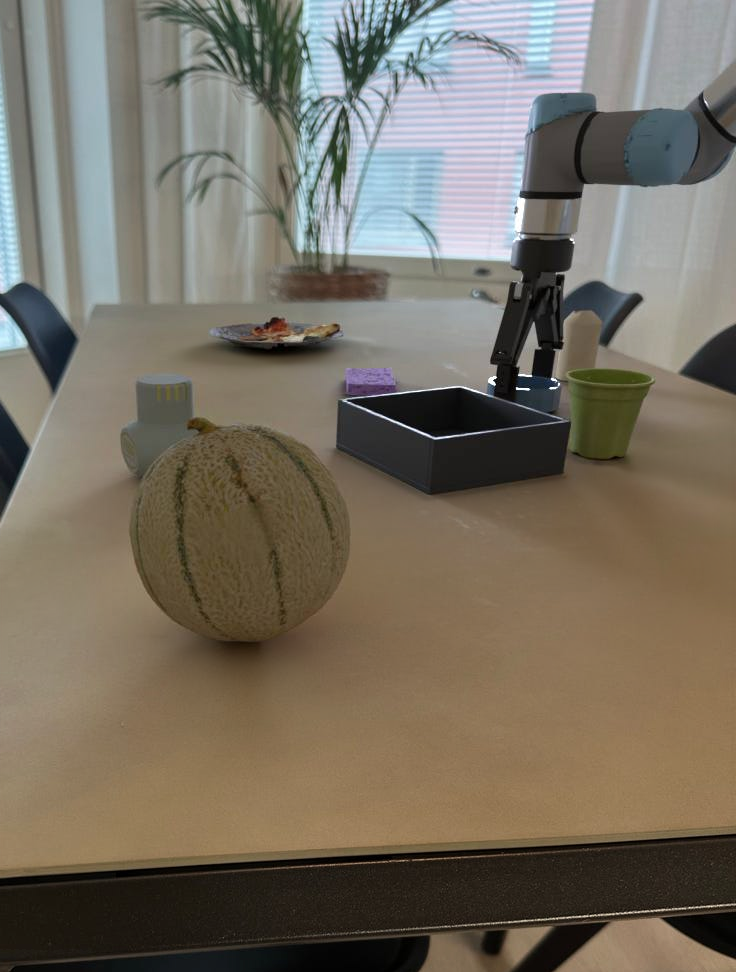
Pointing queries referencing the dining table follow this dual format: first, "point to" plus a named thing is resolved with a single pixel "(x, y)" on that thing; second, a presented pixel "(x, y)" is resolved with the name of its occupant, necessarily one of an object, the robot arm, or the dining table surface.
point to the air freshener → (157, 419)
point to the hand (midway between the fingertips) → (520, 406)
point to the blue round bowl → (535, 392)
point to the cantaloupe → (239, 532)
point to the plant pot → (605, 409)
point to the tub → (451, 438)
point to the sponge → (370, 381)
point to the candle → (579, 342)
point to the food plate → (276, 333)
